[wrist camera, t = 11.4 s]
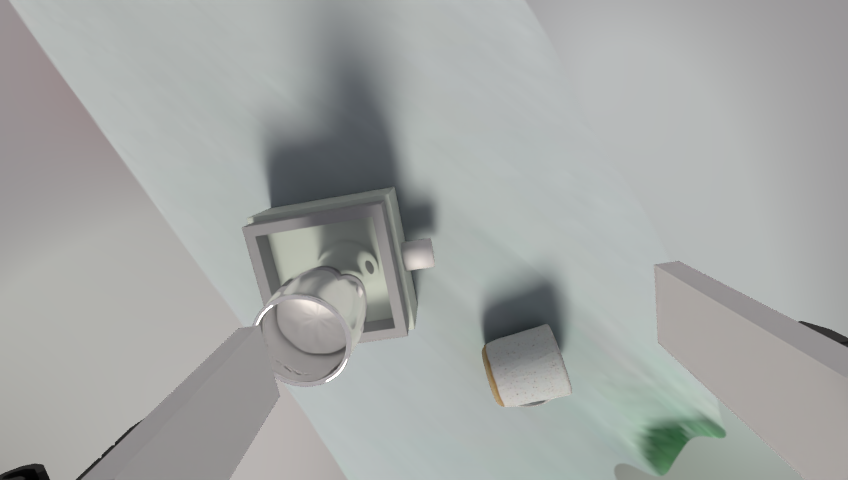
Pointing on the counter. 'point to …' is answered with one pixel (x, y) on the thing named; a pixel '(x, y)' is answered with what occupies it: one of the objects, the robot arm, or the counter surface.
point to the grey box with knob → (338, 222)
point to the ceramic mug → (526, 368)
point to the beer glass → (319, 315)
